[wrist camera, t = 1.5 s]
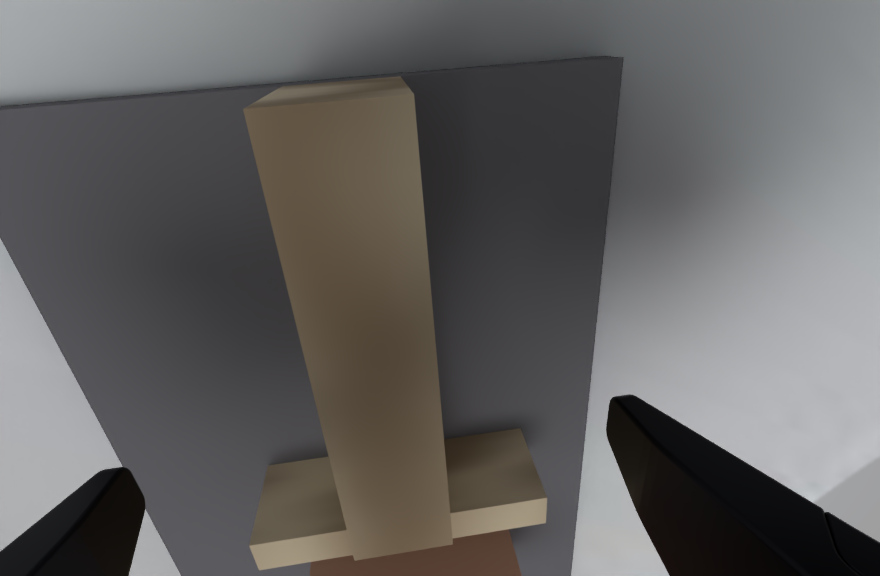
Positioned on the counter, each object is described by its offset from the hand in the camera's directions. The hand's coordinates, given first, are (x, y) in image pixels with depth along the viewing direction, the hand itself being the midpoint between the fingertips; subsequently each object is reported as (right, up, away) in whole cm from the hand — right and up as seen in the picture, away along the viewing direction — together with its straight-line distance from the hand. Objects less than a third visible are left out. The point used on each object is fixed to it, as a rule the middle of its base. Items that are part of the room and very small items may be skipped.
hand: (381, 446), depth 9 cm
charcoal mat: (-1, -4, +10) cm, 10 cm away
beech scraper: (-1, +3, +5) cm, 6 cm away
